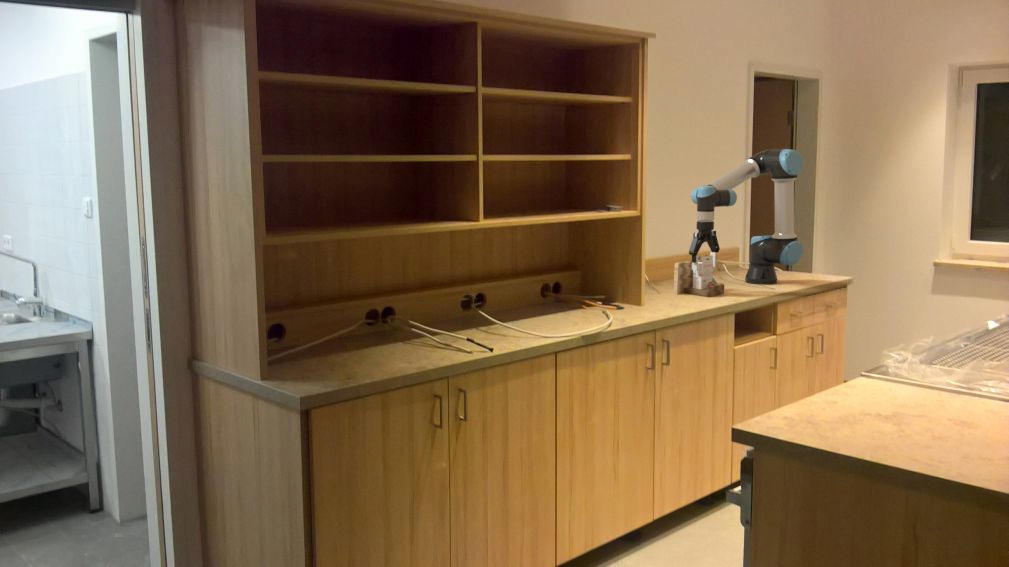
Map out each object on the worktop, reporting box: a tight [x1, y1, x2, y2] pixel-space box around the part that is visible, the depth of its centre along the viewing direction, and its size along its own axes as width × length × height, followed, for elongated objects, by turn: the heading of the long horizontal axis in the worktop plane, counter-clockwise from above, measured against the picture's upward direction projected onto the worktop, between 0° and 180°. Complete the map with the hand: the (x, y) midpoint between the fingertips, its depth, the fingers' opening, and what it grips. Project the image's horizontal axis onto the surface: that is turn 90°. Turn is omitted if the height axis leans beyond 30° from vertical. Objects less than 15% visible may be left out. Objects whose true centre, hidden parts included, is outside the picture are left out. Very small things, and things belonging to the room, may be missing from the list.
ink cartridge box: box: [693, 255, 714, 290], centre depth 379 cm, size 9×5×15 cm, turn 132°
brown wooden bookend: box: [673, 258, 725, 298], centre depth 380 cm, size 22×15×14 cm
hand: (703, 268), depth 379 cm, fingers open, 13 cm apart
